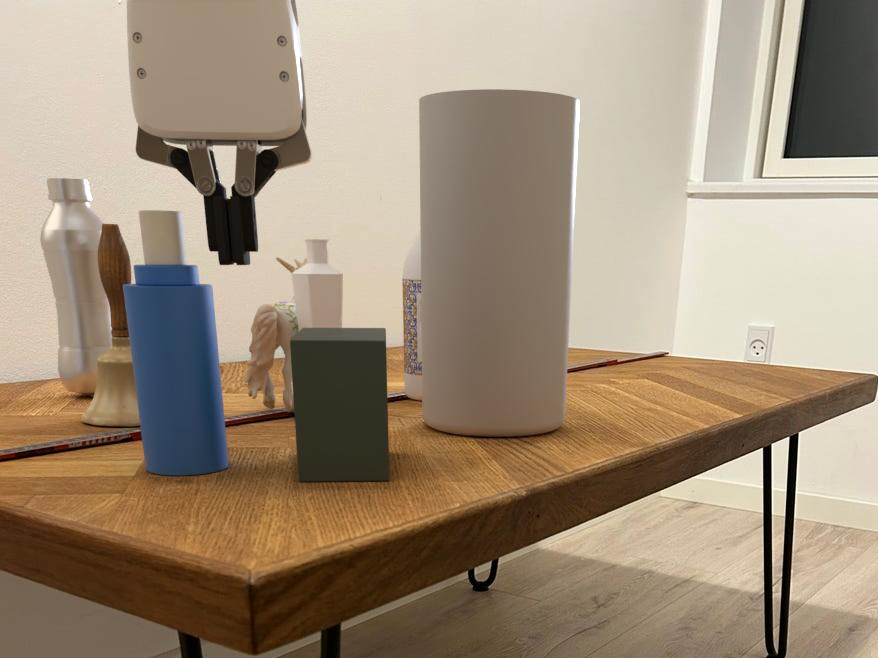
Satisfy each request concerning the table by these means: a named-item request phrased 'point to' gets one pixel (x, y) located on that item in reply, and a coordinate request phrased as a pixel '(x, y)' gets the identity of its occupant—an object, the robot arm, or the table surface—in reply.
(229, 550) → the table surface
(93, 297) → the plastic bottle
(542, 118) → the cylinder vase
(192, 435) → the blue bottle
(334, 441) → the green block
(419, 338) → the bath foam
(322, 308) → the perfume bottle
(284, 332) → the unicorn figurine
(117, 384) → the hand bell
